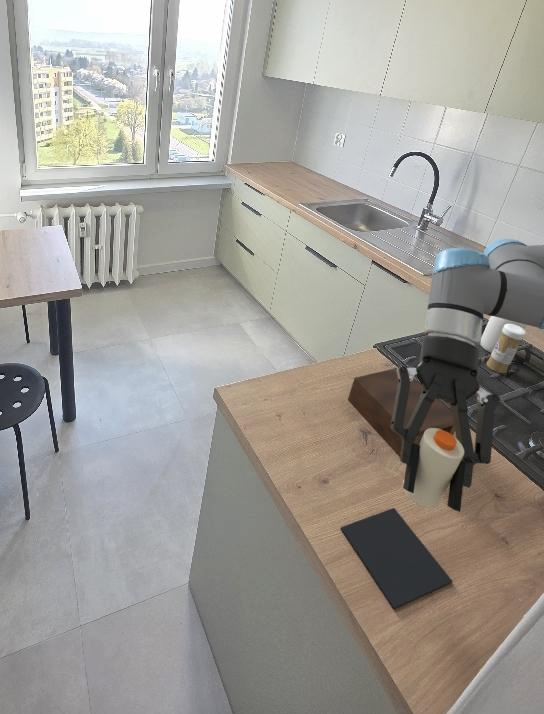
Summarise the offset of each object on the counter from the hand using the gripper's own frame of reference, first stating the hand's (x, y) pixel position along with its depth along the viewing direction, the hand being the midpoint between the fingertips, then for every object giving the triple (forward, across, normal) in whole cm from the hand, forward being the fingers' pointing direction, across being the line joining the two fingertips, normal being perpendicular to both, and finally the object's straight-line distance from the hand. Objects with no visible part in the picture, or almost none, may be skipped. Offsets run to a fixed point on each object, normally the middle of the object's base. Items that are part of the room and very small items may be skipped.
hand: (430, 499), depth 60 cm
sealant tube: (0, 0, -5) cm, 5 cm away
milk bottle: (-41, -30, -69) cm, 85 cm away
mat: (+11, 0, -16) cm, 20 cm away
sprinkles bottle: (-34, -28, -62) cm, 76 cm away
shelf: (-11, -2, -39) cm, 40 cm away
